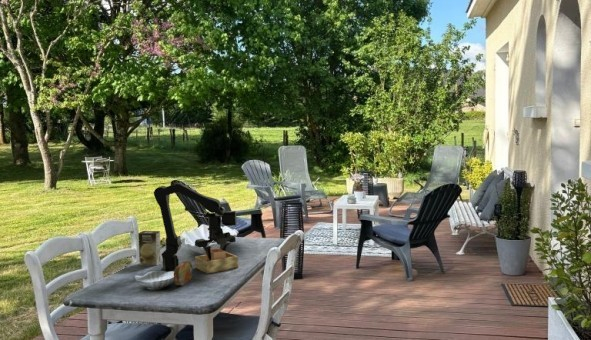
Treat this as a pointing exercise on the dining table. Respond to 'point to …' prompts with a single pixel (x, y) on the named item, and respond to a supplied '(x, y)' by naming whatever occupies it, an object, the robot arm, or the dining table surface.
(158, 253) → the coffee box
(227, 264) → the pine crate
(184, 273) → the tin
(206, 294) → the dining table surface
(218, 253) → the terracotta crate
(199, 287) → the dining table surface
